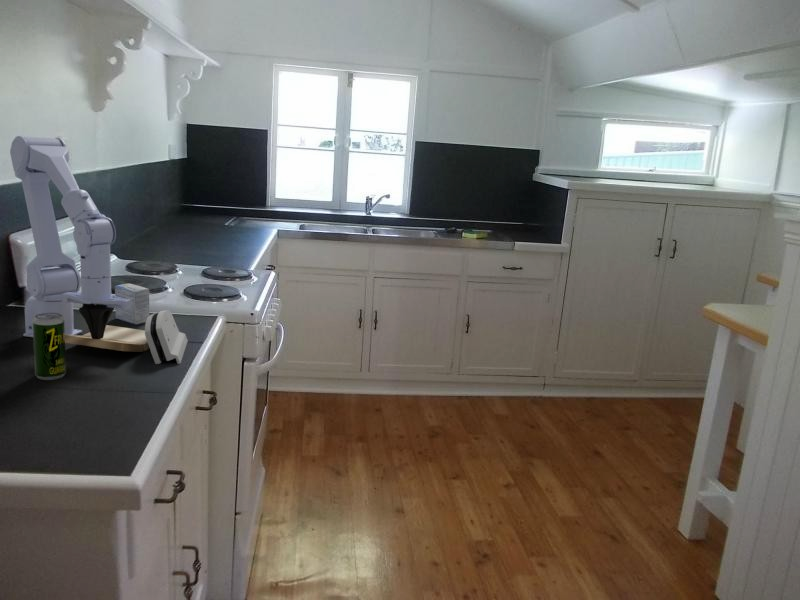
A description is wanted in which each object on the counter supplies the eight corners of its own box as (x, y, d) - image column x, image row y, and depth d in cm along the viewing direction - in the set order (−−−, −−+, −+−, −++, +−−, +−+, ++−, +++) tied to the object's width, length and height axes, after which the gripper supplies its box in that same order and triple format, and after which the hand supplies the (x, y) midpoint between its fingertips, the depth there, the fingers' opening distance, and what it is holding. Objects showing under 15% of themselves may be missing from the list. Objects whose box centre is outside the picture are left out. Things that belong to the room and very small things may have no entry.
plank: (57, 341, 143) (58, 334, 143) (80, 342, 151) (81, 335, 151) (122, 351, 141) (123, 343, 141) (142, 351, 148) (143, 344, 149)
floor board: (82, 342, 152) (82, 335, 151) (106, 331, 160) (106, 325, 160) (144, 351, 149) (144, 344, 149) (165, 339, 158) (165, 333, 157)
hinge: (180, 364, 143) (163, 321, 140) (157, 371, 143) (140, 328, 140) (187, 340, 159) (173, 301, 156) (168, 346, 158) (152, 307, 156)
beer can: (28, 377, 129) (25, 317, 127) (50, 369, 135) (48, 310, 132) (51, 382, 128) (48, 321, 125) (72, 374, 133) (70, 315, 130)
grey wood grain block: (150, 322, 171) (150, 288, 169) (134, 325, 167) (134, 291, 165) (130, 315, 175) (129, 282, 173) (114, 318, 171) (114, 285, 169)
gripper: (51, 275, 139) (54, 339, 142) (116, 283, 137) (118, 347, 140) (73, 269, 146) (76, 330, 149) (136, 277, 143) (136, 338, 146)
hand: (97, 338), depth 145 cm, fingers closed, pressing on plank
